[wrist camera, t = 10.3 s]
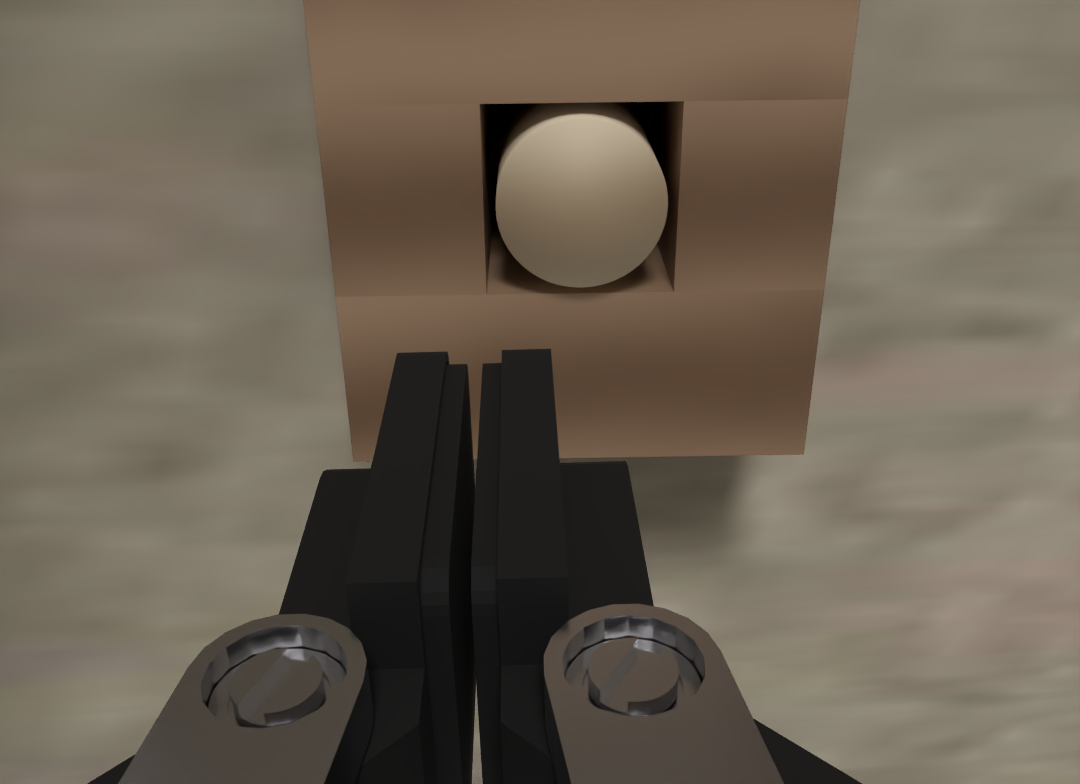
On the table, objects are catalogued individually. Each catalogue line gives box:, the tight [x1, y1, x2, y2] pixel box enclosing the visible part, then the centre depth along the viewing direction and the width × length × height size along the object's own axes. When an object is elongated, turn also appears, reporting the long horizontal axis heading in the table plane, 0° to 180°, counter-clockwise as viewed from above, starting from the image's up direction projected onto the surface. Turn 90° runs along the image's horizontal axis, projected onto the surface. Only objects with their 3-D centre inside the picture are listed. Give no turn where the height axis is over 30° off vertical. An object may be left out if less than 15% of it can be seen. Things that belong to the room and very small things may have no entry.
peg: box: [496, 102, 668, 288], centre depth 26 cm, size 4×4×6 cm
